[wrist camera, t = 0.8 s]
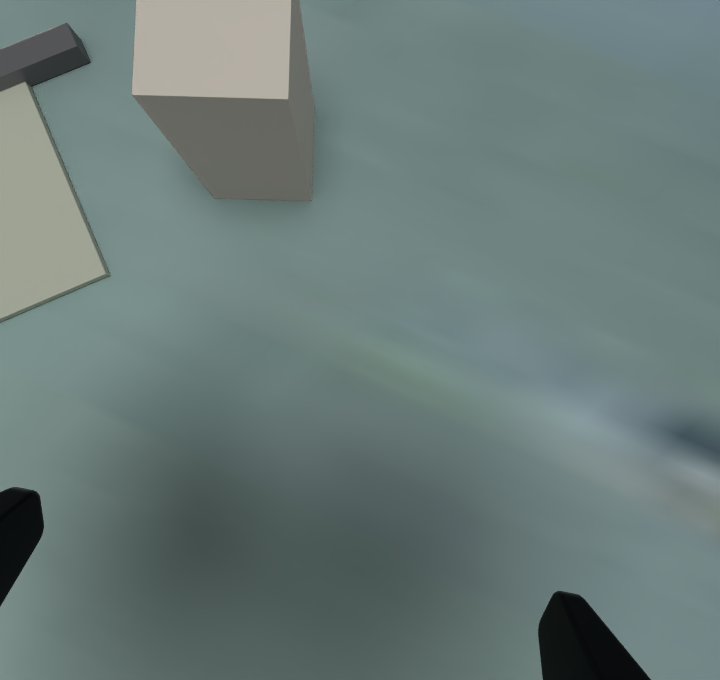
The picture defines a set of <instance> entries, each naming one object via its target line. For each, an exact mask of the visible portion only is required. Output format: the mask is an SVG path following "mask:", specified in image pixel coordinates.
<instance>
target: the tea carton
mask: <svg viewBox="0 0 720 680" xmlns="http://www.w3.org/2000/svg"><path fill="white" fill-rule="evenodd" d="M132 95H133V97H134V98H135V99H136V100H137V102H138V103H139V104H140V105H141V107H142V108H143V109H144V111H145V112H146V113H147V114H148V116H149V117H150V118H151V119H152V121H153V122H154V123H155V124H156V126H157V127H158V128H159V129H160V131H161V132H162V133H163V134H164V136H165V137H166V138H167V139H168V141H169V142H170V143H171V144H172V146H173V147H174V148H175V149H176V151H177V152H178V153H179V154H180V156H181V157H182V158H183V159H184V161H185V162H186V163H187V165H188V166H189V167H190V168H191V170H192V171H193V172H194V173H195V175H196V176H197V177H198V178H199V180H200V181H201V182H202V183H203V185H204V186H205V187H206V188H207V190H208V191H209V192H210V193H211V195H212V196H213V197H214V198H215V199H242V200H282V201H312V183H313V143H314V101H313V94H312V87H311V79H310V72H309V65H308V58H307V51H306V44H305V37H304V30H303V23H302V15H301V8H300V1H299V0H137V3H136V24H135V44H134V65H133V86H132Z"/></svg>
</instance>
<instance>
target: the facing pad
mask: <svg viewBox="0 0 720 680" xmlns="http://www.w3.org/2000/svg"><path fill="white" fill-rule="evenodd" d="M107 276H110V274H109V272H108V269H107V267H106V264H105V262H104V260H103V257H102V255H101V253H100V250H99V248H98V245H97V243H96V241H95V238H94V236H93V234H92V231H91V229H90V226H89V224H88V222H87V219H86V217H85V214H84V212H83V210H82V207H81V205H80V203H79V200H78V198H77V195H76V193H75V191H74V188H73V186H72V184H71V181H70V179H69V176H68V174H67V172H66V169H65V167H64V164H63V162H62V160H61V157H60V155H59V153H58V150H57V148H56V145H55V143H54V141H53V138H52V136H51V133H50V131H49V129H48V126H47V124H46V122H45V119H44V117H43V114H42V112H41V110H40V107H39V105H38V103H37V100H36V98H35V95H34V93H33V91H32V88H31V86H30V85H29V84H27V83H26V82H23V83H21V84H18V85H16V86H13V87H11V88H9V89H6V90H4V91H1V92H0V322H2V321H4V320H6V319H9V318H11V317H13V316H16V315H18V314H20V313H23V312H25V311H28V310H30V309H32V308H35V307H37V306H39V305H42V304H44V303H46V302H49V301H51V300H53V299H56V298H58V297H60V296H63V295H65V294H67V293H70V292H72V291H74V290H77V289H79V288H82V287H84V286H86V285H89V284H91V283H93V282H96V281H98V280H100V279H103V278H105V277H107Z"/></svg>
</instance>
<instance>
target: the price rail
mask: <svg viewBox="0 0 720 680" xmlns="http://www.w3.org/2000/svg"><path fill="white" fill-rule="evenodd" d="M87 63H90V60H89V57H88V55H87V53H86V50H85V48H84V46H83V43H82V41H81V39H80V38H79V37H78V36H77V34H76V33H75V32H74V31H73V30H72V28H71V27H70V26H69V25H68V23H65V24H63V25H60V26H57V27H54V28H52V29H49V30H47V31H44V32H42V33H39V34H37V35H34V36H32V37H29V38H27V39H24V40H22V41H19V42H17V43H14V44H12V45H10V46H7V47H5V48H2V49H0V92H1V91H4V90H6V89H9V88H11V87H13V86H16V85H18V84H21V83H23V82H26V83H27V84H29V85H30V86H33V85H36V84H38V83H41V82H43V81H46V80H48V79H50V78H53V77H55V76H58V75H60V74H63V73H65V72H68V71H70V70H73V69H75V68H78V67H80V66H82V65H85V64H87Z"/></svg>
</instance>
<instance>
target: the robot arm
mask: <svg viewBox="0 0 720 680" xmlns="http://www.w3.org/2000/svg"><path fill="white" fill-rule="evenodd" d="M43 529H44V521H43V514H42V507H41V500H40V495H39V494H38V493H37V492H36V491H34V490H29V489H24V488H19V487H12V488H9V489H6V490H4V491H2V492H0V606H1V604H2V603H3V601H4V599H5V598H6V596H7V594H8V593H9V591H10V589H11V588H12V586H13V584H14V583H15V581H16V579H17V577H18V576H19V574H20V572H21V571H22V569H23V567H24V566H25V564H26V562H27V561H28V559H29V557H30V556H31V554H32V552H33V551H34V549H35V547H36V546H37V544H38V542H39V540H40V538H41V536H42V533H43ZM538 636H539V646H540V656H541V666H542V676H543V680H651V679H650V678H649V677H648V676H647V674H646V673H645V672H644V671H643V669H642V668H641V667H640V666H639V665H638V663H637V662H636V661H635V660H634V659H633V657H632V656H631V655H630V654H629V653H628V651H627V650H626V649H625V648H624V646H623V645H622V644H621V643H620V642H619V640H618V639H617V638H616V637H615V636H614V634H613V633H612V632H611V631H610V630H609V628H608V627H607V626H606V625H605V623H604V622H603V621H602V620H601V619H600V617H599V616H598V615H597V614H596V613H595V611H594V610H593V609H592V608H591V607H590V605H589V604H588V603H587V602H586V600H585V599H584V598H582V597H581V596H580V595H577V594H573V593H568V592H563V591H557V592H555V593H554V594H553V596H552V597H551V599H550V601H549V603H548V605H547V607H546V609H545V611H544V613H543V615H542V617H541V620H540V623H539V628H538Z"/></svg>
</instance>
